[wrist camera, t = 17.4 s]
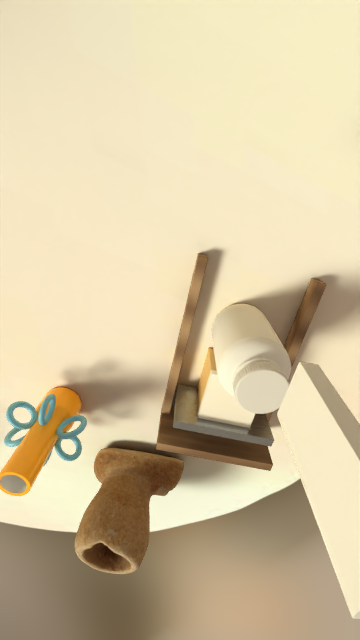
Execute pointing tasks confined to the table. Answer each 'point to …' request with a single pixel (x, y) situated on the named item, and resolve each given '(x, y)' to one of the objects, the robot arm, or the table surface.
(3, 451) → the table surface
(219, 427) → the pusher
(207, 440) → the lane
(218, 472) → the table surface
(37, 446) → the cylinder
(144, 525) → the brown felt boot
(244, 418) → the cream cube
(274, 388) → the pill bottle
